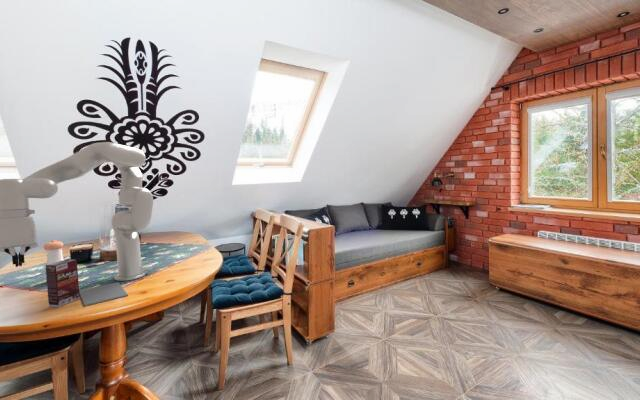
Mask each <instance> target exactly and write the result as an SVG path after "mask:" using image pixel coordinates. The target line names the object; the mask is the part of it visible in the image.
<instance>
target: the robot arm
mask: <svg viewBox="0 0 640 400" xmlns="http://www.w3.org/2000/svg"><path fill="white" fill-rule="evenodd" d="M146 159H147V158H146V154H145V152H143V151H142V150H141V149H140V148H137V147H132V146H129V145H124V144H120V143H116V142H111V141H103V142H94V143H91V144H89V145H87V146H86V147H84V148H82V149H80V150H79V151H77V152H74V153H73V154H71V155H70V156H68V157H66V158H64V159H61V160H59V161H57V162H55V163H52V164H51V165H48V166H46V167H43V168H41V169H39V170H36V171H35V172H33V173H32V174H30V175H27V176H26V177H25V178H2V179H0V253H6V254H8V255H9V256H11V259H12V261H11V262H12V265H15V268H18V267H22V266H23V264H25V263H26V262H25V254H26V253H27V252H28V251H29V250H31V249H34V248H37V247H39V244H38V242H37V231H36V230H37V229H36V224H35V221H34V218H33V216H30V215H34V214H35V213H36V212H35V209H30V205H29V199H44V200H45V199H49V198H52V197H53V196H55V195H57V192H58V190H59V189H58V184H60V183H62V182H65V181H66V182H67V181H69V180H75V179H78V178H81V177H83V176H85V175H86V174H88V173H90V172H91V171H93V170H94V169H96V168H97V167H99V166H100V165H102V164H104V163H112V164H113V166H115V167H116V168H117V169H118V171H119V173H120V175H121V176H120V177H121V180H120V181H121V182H120V188H119V194H118V202H119V205H121V206H122V207H124V208H127V210H120V211H119V210H118V211H117V212H116V213H114V215H113V216H112V219H111V225H112V229H113V233H114V237H115V239H114V240H115V248H116V263H117V274H115V275H114V280H115V281H117V282H120V281H122V282H124V281H132V280H136V279H140V278H142V277H145V275H146V271H147V270H153V268H154V266H153V264H146V265H142V256H141V245H140V244H141V242H140V241H141V240H140V236H139V233H142V232H144V231H146V230H147V229H148V228H149V226H150V224H151V219H152V214H153V205H154V196H153V194H152V192H151V191H150V190H149V189H148V188H146V187H145V188H144V187H143V174H142V172H141V170H140V168H141V167H142V166H143V165H144V164H145V163H146ZM128 208H130V209H131V210H128ZM17 247H20V251H19V253H18V252H16V249H15V248H17Z"/></svg>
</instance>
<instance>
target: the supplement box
mask: <svg viewBox="0 0 640 400" xmlns="http://www.w3.org/2000/svg"><path fill="white" fill-rule="evenodd" d="M45 277H47V279H46V285H47V286H46V288H47V290H46V291H47V300H48V307H53V308H60V307H62V306H65V305H67V304H70V303H71V302H74V301H77V300H79V299H81V296H80V293H79V290H80V283H79V271H78V260H77V259H71V258H66V259H64V260H63V261H59V262H56V263H52V264H49V265H47V264H45Z"/></svg>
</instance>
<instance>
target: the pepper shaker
mask: <svg viewBox="0 0 640 400" xmlns="http://www.w3.org/2000/svg"><path fill="white" fill-rule="evenodd" d="M64 245H65V244H64V243H63V242H62V241H59V240H56V239H52V240H51V241H48V242H46V243H45V244H44V245H43V249H44V250H46V252H45V253H46V265H49V264H52V263H56V262H59V261H63V260H65V259H64V256H63V248H64ZM45 277H46V276H45ZM46 280H47V277H46Z"/></svg>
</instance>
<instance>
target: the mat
mask: <svg viewBox="0 0 640 400" xmlns="http://www.w3.org/2000/svg"><path fill="white" fill-rule="evenodd" d="M79 294H80V299H81V301H82V304H83V306H84V307H88V306H92V305H96V304H99V303H103V302H109V301H112V300H116V299H122V298H124V297H125V298H126V297H128V296H129V295H128V293H127V291H126V290H125V289H124V288H123V287H122V285H121V284H120V281H116V282H112V283H107V284H102V285H97V286H93V287H88V288H85V289H79Z"/></svg>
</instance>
